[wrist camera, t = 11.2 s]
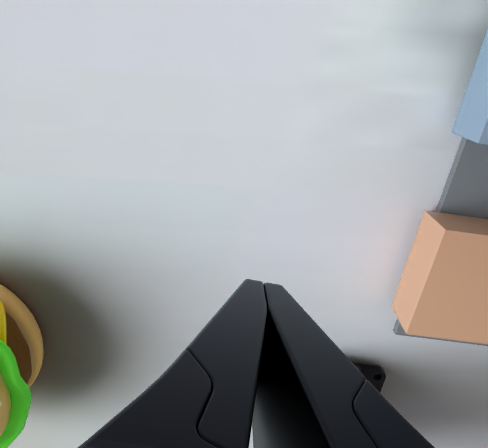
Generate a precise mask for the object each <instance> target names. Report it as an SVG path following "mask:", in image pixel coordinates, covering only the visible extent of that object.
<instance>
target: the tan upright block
mask: <svg viewBox="0 0 488 448" xmlns="http://www.w3.org/2000/svg"><path fill="white" fill-rule="evenodd" d="M391 307H392V309H393V311H394V312H395V314H396V316H397V318H398V320H399V322H400V323H401V325H402V327H403V329H404V331H405V333H406V334H410V335H418V336H426V337H434V338H442V339H450V340H458V341H466V342H474V343H482V344H488V219H484V218H477V217H469V216H462V215H455V214H447V213H440V212H433V211H424V214H423V217H422V220H421V223H420V225H419V228H418V231H417V234H416V237H415V240H414V243H413V246H412V248H411V251H410V254H409V257H408V260H407V263H406V266H405V269H404V271H403V274H402V277H401V280H400V283H399V286H398V289H397V292H396V294H395V297H394V300H393V303H392V306H391Z"/></svg>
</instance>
